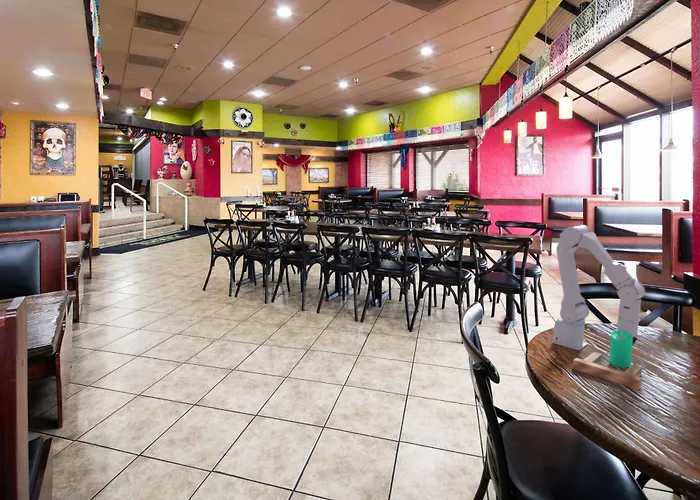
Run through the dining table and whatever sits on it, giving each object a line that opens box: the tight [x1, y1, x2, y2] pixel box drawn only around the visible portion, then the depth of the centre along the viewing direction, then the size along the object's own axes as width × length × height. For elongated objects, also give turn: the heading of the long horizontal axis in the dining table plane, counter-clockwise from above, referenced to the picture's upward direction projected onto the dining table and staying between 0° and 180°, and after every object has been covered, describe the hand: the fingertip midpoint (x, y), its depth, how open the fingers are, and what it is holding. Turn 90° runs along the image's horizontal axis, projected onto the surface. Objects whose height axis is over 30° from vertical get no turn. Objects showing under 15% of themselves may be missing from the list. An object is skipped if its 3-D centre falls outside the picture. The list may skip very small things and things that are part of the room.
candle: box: [609, 330, 633, 369], centre depth 133 cm, size 6×6×12 cm
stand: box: [572, 351, 643, 391], centre depth 129 cm, size 18×11×3 cm, turn 41°
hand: (623, 357), depth 137 cm, fingers closed
